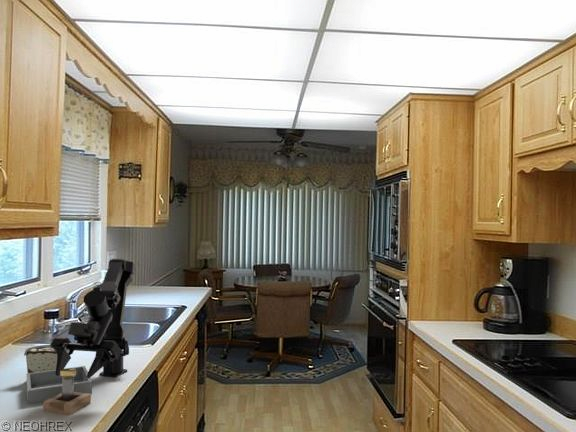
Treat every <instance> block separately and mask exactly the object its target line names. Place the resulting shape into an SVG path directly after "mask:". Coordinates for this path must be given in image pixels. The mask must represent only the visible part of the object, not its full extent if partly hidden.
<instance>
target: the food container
mask: <svg viewBox="0 0 576 432" xmlns="http://www.w3.org/2000/svg"><path fill="white" fill-rule="evenodd" d="M23 356H25V359H26V360H25V361H26V370H27V371H26V374H27V373H35V372H42V371H50V370H56V365H57V353H56V351H55V350H54V349H53V348H52V347H51V346H50V344H41V345H35V346H31V347H28V348H25V351H24V354H23Z"/></svg>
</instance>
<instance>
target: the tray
mask: <svg viewBox="0 0 576 432" xmlns="http://www.w3.org/2000/svg"><path fill="white" fill-rule="evenodd" d="M68 368H69V367H67V368H66V367H65V368H64V369H68ZM72 368H74V369H76V375H75V376H74V381H75V380H81V379H82V381H79V382H74V392H80V393H88V394H91V395H92V394H93V380H92V377H91V378H87V374H88V371H89V370H87V367H86V365H82V366H75V367H72ZM55 373H56V370H50V371H42V372H35V373H27V372H26V387H25V388H26V400H27V405H30V404H31V405H32V404H37V403H44V401H46V400H48V399H50V398H52V397H54V396H56V395H58V394H60V393H62V384H60V385H52V386H45V387H38V388H34V387H36V386H40V385H45V384H46V385H47V384H53V383H54V384H55V383H59V382H60V383H62V377H60V375H59V376H56V374H55Z"/></svg>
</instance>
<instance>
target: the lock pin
mask: <svg viewBox="0 0 576 432" xmlns="http://www.w3.org/2000/svg"><path fill="white" fill-rule="evenodd" d="M67 368H68V369H65V368H64V369H63V370H61V371H60V377H62V381H61V385H62V401H68V402H69V401H71V400H73V399H74V383H75V380H74V376H75V375H76V369H74V368H73V367H67Z"/></svg>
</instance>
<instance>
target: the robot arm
mask: <svg viewBox="0 0 576 432" xmlns="http://www.w3.org/2000/svg"><path fill="white" fill-rule="evenodd" d="M107 266H108V267H107V270H106V273H105V276H104V278H103V281H102V283H100V284H98V285H97V286H94V287H93V289H92V290H90V291H88V292H87V293H86V294H85V295H84V296H83V303H84V306H85V309H86V313H87V315H88V316H89V318H88V320H87V322H73V321H71V322H70V324H69V329H68V332H67V335H71V336H73V340H74V341H76V342H72V341H71V340H70V338H69V337H60V336H59V337H58V336H56V337H53V339H52V340H51V342H50V343H49V345H50V346H51V347H52V348H53V349H54V350H55V351H56V353H57V365H56V373H55V374H56V376H59V375H60V371H61V370H63V369H65V368H66V366H67V365H68V363H69V362H70V360H72V356H71V355H73V354H74V352H75V351H79V352H93V353H95V356H94V359H93V361H92V363H91V365H90V367H89V370H87V371H88V374H87V378H91V379H92V377H93V376H94V375H95V374H96V373H97V372H99V371H100V370H101V369H103V370H102V371H101V372H99V376H104V377H113V378H114V377H115V378H117V377H119V376H121V375H122V374H124V373H126V372H128V369H126V368H125V369H124V357H126V356H128V355H130V345H129V341H128V338H127V337H126V336H127V334H126V333H125V330H124V328H123V321H124V314H125V313H124V312H125V306H126V297H127V290H128V286H129V285H130V284H131V283H132V282H133V279H134V275H135V274H136V268H137V267H136V264H135V262H133V261H129V260H127V259H124V258H112V259H109V262H108V265H107Z"/></svg>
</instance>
